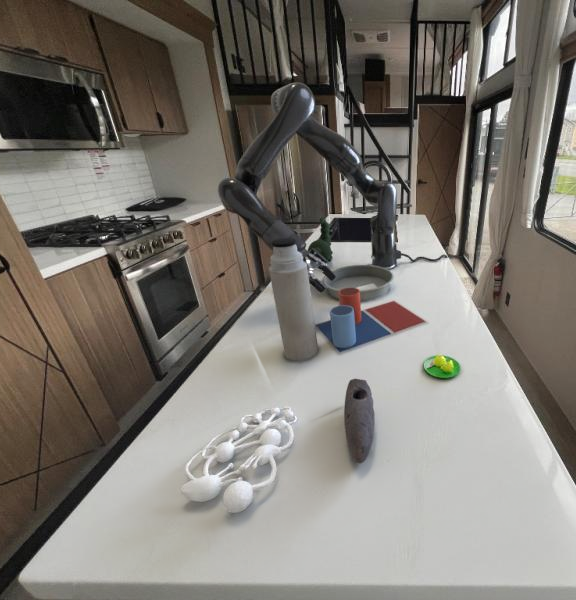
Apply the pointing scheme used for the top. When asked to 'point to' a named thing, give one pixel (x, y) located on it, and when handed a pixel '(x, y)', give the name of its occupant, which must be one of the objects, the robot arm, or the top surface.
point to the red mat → (395, 316)
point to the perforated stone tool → (359, 419)
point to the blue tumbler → (343, 326)
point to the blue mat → (358, 331)
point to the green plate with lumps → (443, 366)
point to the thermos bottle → (293, 300)
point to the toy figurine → (323, 241)
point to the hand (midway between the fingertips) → (329, 284)
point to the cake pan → (360, 280)
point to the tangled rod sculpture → (240, 491)
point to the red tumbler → (351, 301)
